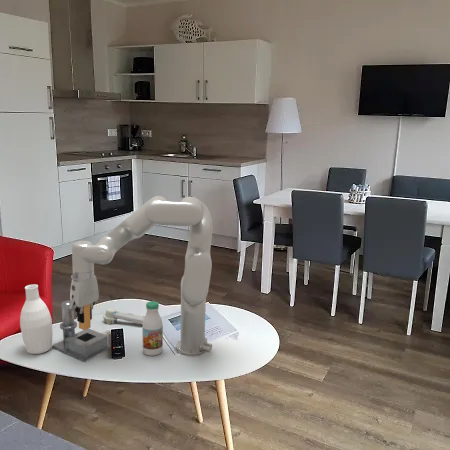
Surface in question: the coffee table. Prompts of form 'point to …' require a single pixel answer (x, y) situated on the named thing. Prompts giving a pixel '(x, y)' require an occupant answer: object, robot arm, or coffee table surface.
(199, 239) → the robot arm
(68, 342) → the square socket base
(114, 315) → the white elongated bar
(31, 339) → the bottle
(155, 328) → the milk bottle
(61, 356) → the coffee table surface
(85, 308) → the orange rectangular block
